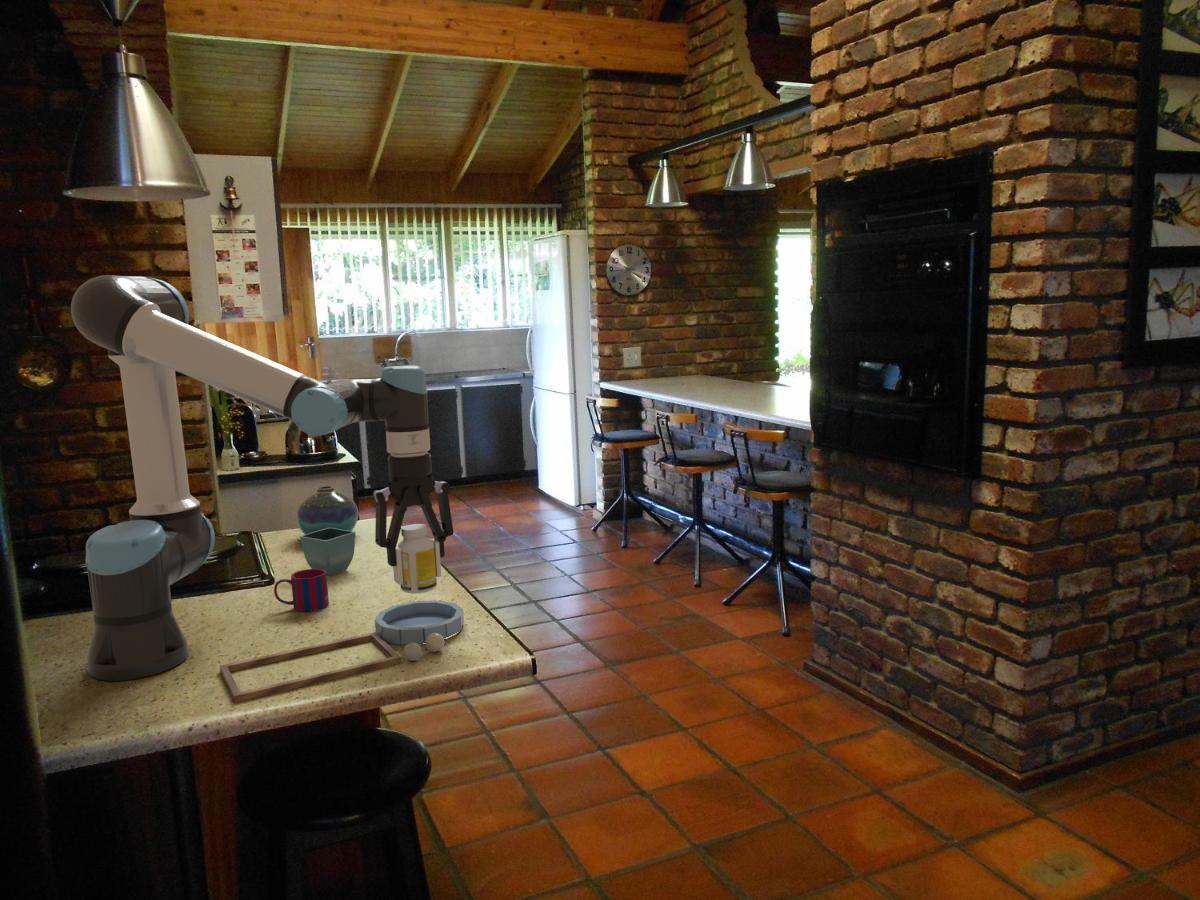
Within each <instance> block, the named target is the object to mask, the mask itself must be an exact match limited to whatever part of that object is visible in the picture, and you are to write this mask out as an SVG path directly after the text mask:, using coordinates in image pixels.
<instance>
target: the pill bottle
mask: <svg viewBox="0 0 1200 900" xmlns="http://www.w3.org/2000/svg"><path fill="white" fill-rule="evenodd" d="M428 526H429V525H428V524H424V523H412V524H407V525H404V526H403V525H402V526H401V530H400V532H401V537H402V538H403V539H402V540H401V541H399V542H398V543H397V544H398V545H397V547H399V548H401V559H402V573H403V584H401V585H400V590H401V591H402V592H404V593H406V594H424V593H428V592H431V591H433V590H434V589H436V587H437V585H438V584H437V583H438V582H437V577H436V566H435V551H434V543H433V541H432V540H431V539H432V538H429V537H428V534H429V528H428Z"/></svg>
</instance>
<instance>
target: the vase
mask: <svg viewBox="0 0 1200 900" xmlns="http://www.w3.org/2000/svg"><path fill="white" fill-rule="evenodd" d="M358 518H359V509H358V506H357V504H356V502H355V501H354V500H353V499H352V498H351V497H350V496H348V495H346V494H345V493H342V492H340V491H337V490H336V489H335V488H334V486H333V485H324V486H319V487H317V488H316V492H313V494H311V495H309V496H308V497H306V498H305V499H304V500H302V501H301V503H300V504H299V506H298V507H297V511H296V523H297V525H298V528H299V530H300V531H301V532H302V533H303V535H306V534H309V533H312V532H316V531H319V530H322V529H326V528H336V529H342V530H348V531H354V528H355V527H356V525H357V523H358Z"/></svg>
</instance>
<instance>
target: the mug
mask: <svg viewBox="0 0 1200 900" xmlns="http://www.w3.org/2000/svg"><path fill="white" fill-rule="evenodd" d="M327 576H328V575H327V574H326V571H325V570H323V569H311V568H308V569H301V570H298V571H295V572H293V573H292V574H291V575H290V579H289V578H288V579H287V578H284V579H283V578H282V579H279V580H277V581H276V582H275V584H274V587H273V591H274V594H273V595H274V597H275V598H276V599H277V601H278V602H280V603H282V604H284V605H289V606H293V610H294V611H297V612H299V613H300V612H303V613H306V612H317V611H319V610H323V609H325V608H327V607H328V606H329V605H330V603H329V602H330V599H329V588H328V577H327ZM285 582H286V583H288V584H290V585H291V593H292V600H284V599H282V598H280V596H279V595H278V586H279V584H280V583H281V584H282V583H285Z"/></svg>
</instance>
